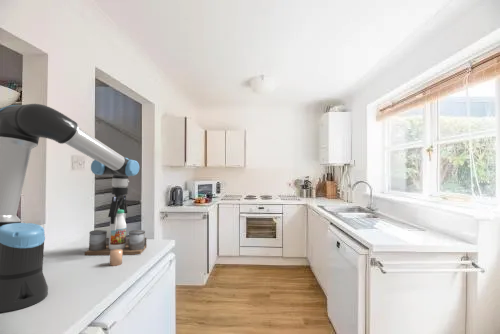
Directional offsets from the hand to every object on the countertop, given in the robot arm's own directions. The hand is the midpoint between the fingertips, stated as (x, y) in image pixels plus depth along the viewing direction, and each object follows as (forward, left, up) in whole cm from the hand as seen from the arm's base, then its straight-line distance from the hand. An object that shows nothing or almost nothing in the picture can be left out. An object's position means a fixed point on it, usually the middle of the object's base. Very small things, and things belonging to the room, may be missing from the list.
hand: (117, 227), depth 136 cm
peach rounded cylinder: (-19, -6, -12) cm, 24 cm away
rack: (+1, 0, -12) cm, 12 cm away
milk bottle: (0, 0, -11) cm, 11 cm away
